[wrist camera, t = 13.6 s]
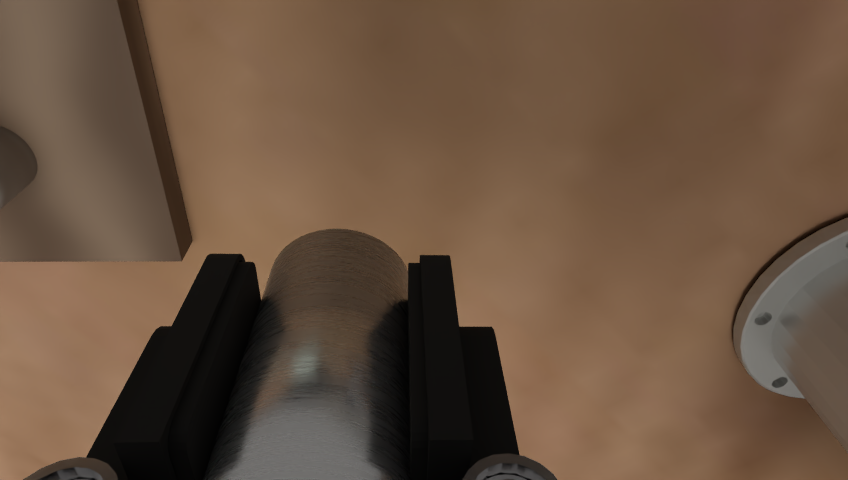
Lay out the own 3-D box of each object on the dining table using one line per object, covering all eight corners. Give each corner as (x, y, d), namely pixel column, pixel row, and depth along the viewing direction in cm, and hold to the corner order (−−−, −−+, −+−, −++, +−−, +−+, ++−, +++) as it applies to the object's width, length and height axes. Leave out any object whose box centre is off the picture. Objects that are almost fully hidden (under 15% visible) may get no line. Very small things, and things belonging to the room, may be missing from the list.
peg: (412, 229, 11) (426, 670, 5) (409, 340, 12) (417, 777, 6) (261, 228, 10) (85, 677, 5) (277, 340, 12) (159, 787, 6)
